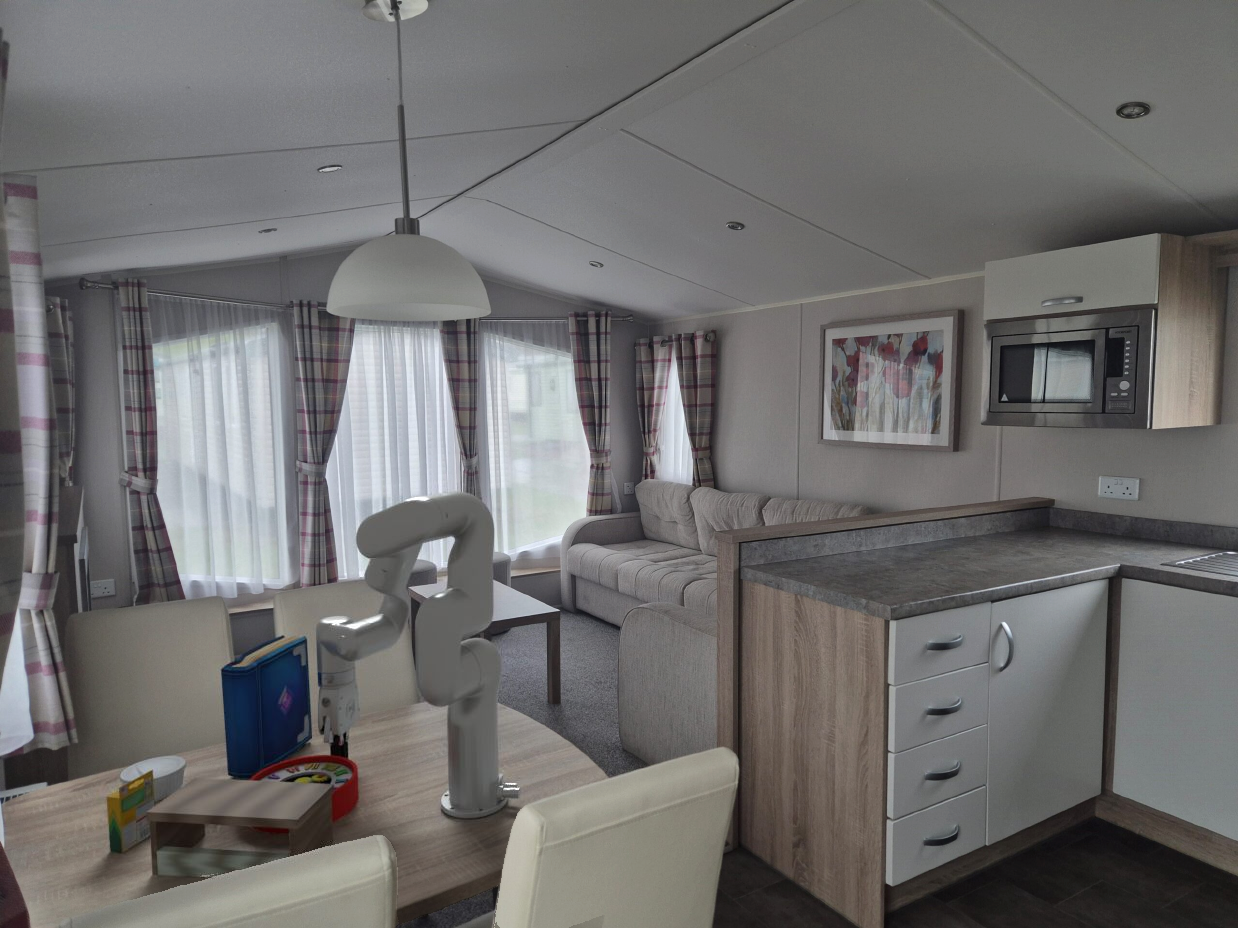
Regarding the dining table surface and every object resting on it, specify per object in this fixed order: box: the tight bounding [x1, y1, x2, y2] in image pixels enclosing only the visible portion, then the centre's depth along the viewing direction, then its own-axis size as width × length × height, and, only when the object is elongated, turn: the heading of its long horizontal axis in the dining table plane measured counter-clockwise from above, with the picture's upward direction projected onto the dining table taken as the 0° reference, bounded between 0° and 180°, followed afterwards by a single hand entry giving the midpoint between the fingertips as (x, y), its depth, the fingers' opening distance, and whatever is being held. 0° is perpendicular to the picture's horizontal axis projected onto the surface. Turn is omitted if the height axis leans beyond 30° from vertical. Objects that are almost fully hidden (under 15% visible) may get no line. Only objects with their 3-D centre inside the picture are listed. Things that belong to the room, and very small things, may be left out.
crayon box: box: [106, 770, 156, 854], centre depth 137 cm, size 7×3×12 cm, turn 166°
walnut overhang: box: [146, 777, 334, 879], centre depth 131 cm, size 26×12×10 cm, turn 83°
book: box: [220, 634, 313, 780], centre depth 169 cm, size 22×7×25 cm, turn 168°
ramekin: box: [119, 755, 187, 803], centre depth 155 cm, size 11×11×5 cm
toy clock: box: [249, 754, 360, 835], centre depth 149 cm, size 20×6×20 cm
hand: (339, 760), depth 165 cm, fingers closed
